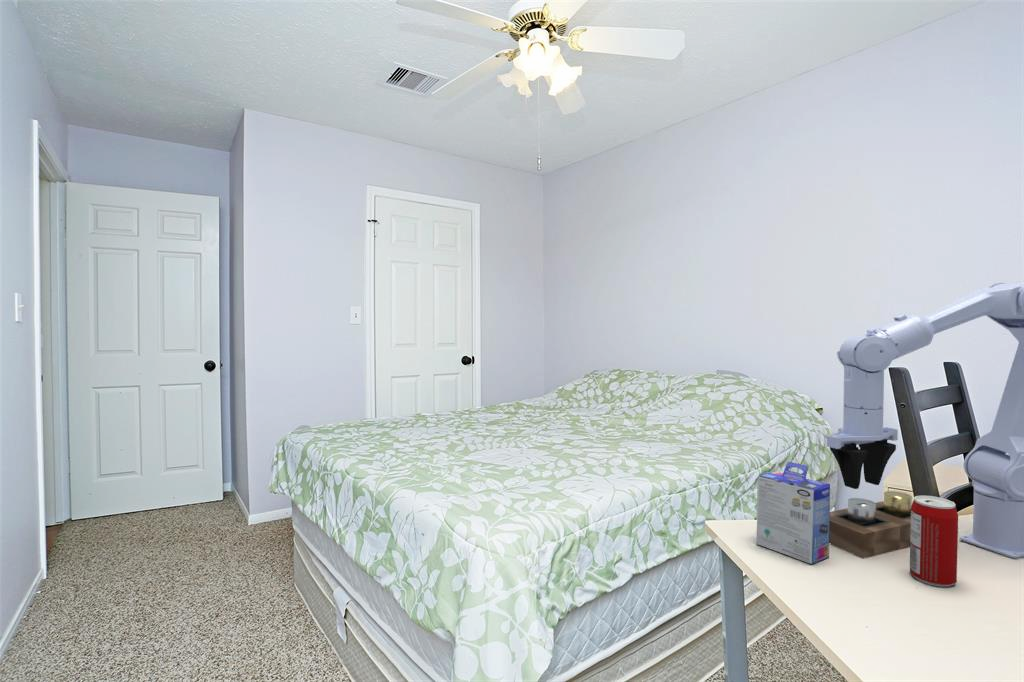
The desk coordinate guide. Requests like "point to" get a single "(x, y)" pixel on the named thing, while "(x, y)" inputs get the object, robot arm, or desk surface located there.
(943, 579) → the soda can
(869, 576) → the desk surface
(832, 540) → the brown peg hole block
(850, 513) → the steel peg
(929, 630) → the desk surface
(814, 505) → the ink cartridge box
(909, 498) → the brass peg
